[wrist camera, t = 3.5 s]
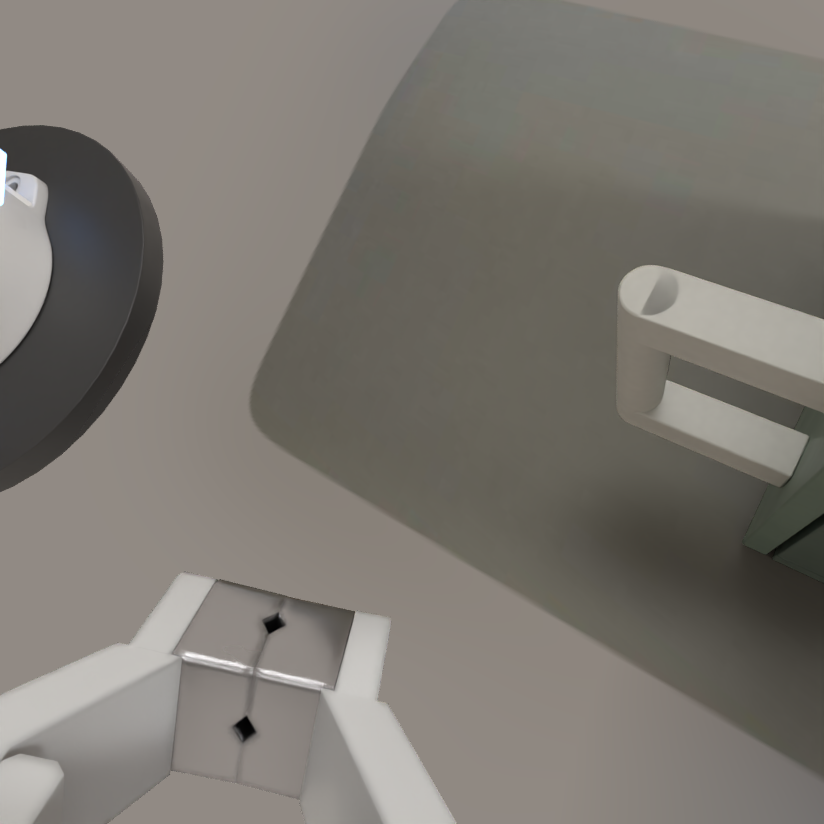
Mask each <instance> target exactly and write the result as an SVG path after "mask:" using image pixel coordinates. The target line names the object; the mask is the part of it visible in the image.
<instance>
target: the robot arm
mask: <svg viewBox="0 0 824 824" xmlns="http://www.w3.org/2000/svg"><path fill="white" fill-rule="evenodd" d="M6 157H7V154H6V153H5V152H3V151H2V150H1V149H0V364H1V363H2V362H3V361H4V360H5V359H6V358H7V357H8V356H9V355H10V354H11V353H12V352H13V351H14V349H15V348H16V347H17V346H18V345H19V343H20V342H21V341H22V340H23V338H24V337H25V335H26V334H27V333H28V331H29V330H30V328H31V326H32V325H33V323H34V321H35V320H36V318H37V316H38V314H39V312H40V310H41V307H42V305H43V303H44V300H45V298H46V294H47V291H48V288H49V284H50V279H51V273H52V248H51V243H50V239H49V236H48V232H47V229H46V225H45V215H46V209H47V203H48V187H47V185H46V184H45V183H44V182H43V181H41V180H40V179H38V178H37V177H35V176H33V175H31V174H26V173H19V172H12V171H6ZM354 615H355V616H354ZM390 627H391V619H390V617H387V616H382V615H377V614H372V613H367V612H362V611H356V613H355V611H351V610H346V609H341V608H337V607H332V606H328V605H323V604H319V603H314V602H310V601H305V600H300V599H295V598H291V597H287V596H285V595H281V594H277V593H273V592H268V591H265V590H261V589H257V588H253V587H249V586H244V585H240V584H236V583H233V582H229V581H224V580H221V579H220V580H217V579H215V578H211V577H207V576H202V575H198V574H194V573H190V572H183V573H181V574H179V575H178V576H177V577H176V578H175V580H174V581H173V582H172V584H171V585H170V586H169V588H168V590H167V591H166V592H165V594H164V595H163V597H162V598H161V599H160V601H159V602H158V603H157V605H156V606H155V608H154V609H153V610H152V612H151V614H150V615H149V616H148V618H147V619H146V621H145V622H144V623H143V625H142V626H141V627H140V629H139V630H138V632H137V633H136V635H135V636H134V637H133V639H132V640H131V642H130V643H129V644H128V645H127V644H122V643H116V644H113V645H111V646H108V647H106V648H104V649H102V650H99V651H97V652H95V653H93V654H91V655H88V656H86V657H84V658H81V659H79V660H77V661H75V662H72V663H70V664H68V665H66V666H64V667H61V668H59V669H56V670H54V671H52V672H50V673H48V674H45V675H43V676H41V677H39V678H36V679H34V680H32V681H30V682H27V683H25V684H23V685H20V686H18V687H16V688H14V689H11V690H9V691H7V692H5V693H2V694H0V824H107V823H109V822H110V821H111V820H112V819H114V818H115V817H116V816H117V815H119V814H120V813H121V812H123V811H124V810H125V809H126V808H128V807H129V806H130V805H131V804H133V803H134V802H135V801H137V800H138V799H139V798H141V797H142V796H143V795H144V794H146V793H147V792H148V791H150V790H151V789H152V788H153V787H155V786H156V785H157V784H159V783H160V782H161V781H162V780H164V779H165V778H166V777H168V776H169V775H170V770H171V771H176V772H181V773H187V774H192V775H197V776H201V777H207V778H212V779H217V780H222V781H227V782H232V783H237V784H241V785H245V786H248V787H252V788H257V789H260V790H264V791H268V792H272V793H276V794H279V795H284V796H288V797H291V798H295V799H299V800H300V803H299V804H300V807H301V811H302V814H303V817H304V821H305V824H457V823H456V821H455V819H454V817H453V816H452V814H451V812H450V810H449V809H448V807H447V806H446V804H445V802H444V800H443V798H442V797H441V795H440V793H439V791H438V790H437V788H436V786H435V785H434V783H433V781H432V779H431V778H430V776H429V774H428V772H427V771H426V769H425V767H424V765H423V764H422V762H421V760H420V758H419V757H418V755H417V753H416V751H415V750H414V748H413V746H412V744H411V743H410V741H409V739H408V738H407V736H406V734H405V732H404V731H403V729H402V727H401V725H400V724H399V722H398V720H397V718H396V717H395V715H394V713H393V711H392V710H391V708H390V706H389V705H388V704H387V703H384V702H379V701H377V700H378V695H379V689H380V684H381V677H382V672H383V667H384V661H385V656H386V650H387V644H388V639H389V633H390Z"/></svg>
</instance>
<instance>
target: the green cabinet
mask: <svg viewBox="0 0 824 824" xmlns="http://www.w3.org/2000/svg"><path fill="white" fill-rule="evenodd" d="M773 560H775V561H777V562H779V563H781V564H784V565H786V566H788V567H790V568H792V569H794V570H796V571H799V572H801V573H803V574H805V575H807V576H809V577H811V578H814V579H816V580H818V581H820V582H822V583H824V514H822V515H821V516H819V517H818V518H817V519H815V520H814V521H812V522H811V523H810V524H808V525H807V526H805V527H804V528H803V529H801V530H800V531H798V532H797V533H796V534H794V535H793V536H791V537H790V538H789V539H787V540H786V541H784V542H783V543H782V544H780V545H779V546H778V547H777V549H776V551H775V553H774V556H773Z"/></svg>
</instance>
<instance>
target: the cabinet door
mask: <svg viewBox="0 0 824 824" xmlns="http://www.w3.org/2000/svg"><path fill="white" fill-rule="evenodd" d="M671 355H672V356H675V357H677V358H680V359H683V360H685V361H688V362H690V363H693V364H696V365H698V366H701V367H704V368H706V369H709V370H712V371H714V372H717V373H719V374H722V375H725V376H727V377H730V378H733V379H735V380H738V381H741V382H743V383H746V384H749V385H751V386H754V387H756V388H759V389H762V390H764V391H767V392H770V393H772V394H775V395H778V396H780V397H783V398H785V399H788V400H791V401H793V402H796V403H799V404H801V405H804V406H805V407H804V409H803V411H802V414H801V416H800V418H799V420H798V422H797V424H796V427H795V429H794V430H793V429H791V428H788V427H786V426H783V425H780V424H778V423H775V422H773V421H770V420H768V419H765V418H763V417H760V416H758V415H755V414H753V413H750V412H747V411H745V410H742V409H740V408H737V407H735V406H732V405H730V404H727V403H725V402H722V401H720V400H717V399H714V398H712V397H709V396H707V395H704V394H702V393H699V392H697V391H694V390H692V389H689V388H687V387H684V386H681V385H679V384H676V383H674V382H671V381H669V380H666V378H667V373H668V368H669V362H670V357H671ZM616 408H617V412H618V414H619V416H620V417H621V418H622V419H623V420H624V421H626V422H627V423H629V424H632V425H634V426H636V427H639V428H641V429H643V430H646V431H648V432H650V433H653V434H655V435H657V436H660V437H662V438H664V439H667V440H669V441H671V442H674V443H676V444H678V445H681V446H683V447H685V448H688V449H690V450H692V451H695V452H697V453H699V454H702V455H704V456H706V457H709V458H711V459H713V460H716V461H718V462H720V463H723V464H725V465H727V466H730V467H732V468H734V469H737V470H739V471H742V472H744V473H746V474H749V475H751V476H753V477H756V478H758V479H760V480H763V481H765V482H767V483H769V485H768V487H767V489H766V492H765V494H764V496H763V498H762V500H761V503H760V505H759V507H758V509H757V511H756V513H755V516H754V518H753V520H752V522H751V524H750V526H749V529H748V531H747V533H746V535H745V537H744V539H743V542H742V544H743V545H745V546H747V547H749V548H752V549H754V550H756V551H758V552H760V553H762V554H767V553H769V552H770V551H772V550H773V549H774V548H776V547H777V546H779V545H780V544H782V543H783V542H784V541H786V540H787V539H789V538H790V537H791V536H793V535H794V534H796V533H797V532H798V531H800V530H801V529H803V528H804V527H805V526H807V525H808V524H810V523H811V522H812V521H814V520H815V519H817V518H818V517H819V516H821V515H822V514H824V319H821V318H818V317H815V316H812V315H809V314H806V313H803V312H800V311H797V310H794V309H791V308H788V307H785V306H782V305H779V304H776V303H773V302H770V301H767V300H764V299H761V298H758V297H755V296H751V295H748V294H745V293H742V292H739V291H736V290H733V289H730V288H727V287H724V286H721V285H718V284H715V283H712V282H709V281H706V280H703V279H700V278H697V277H694V276H691V275H688V274H685V273H682V272H679V271H676V270H673V269H670V268H667V267H662V266H657V265H645V266H641V267H638V268H635V269H634V270H632V271H630V272H629V273H628V274H627V275H626V276H625V277H624V278H623V279H622V281H621V282H620V285H619V288H618V308H617V390H616Z"/></svg>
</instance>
